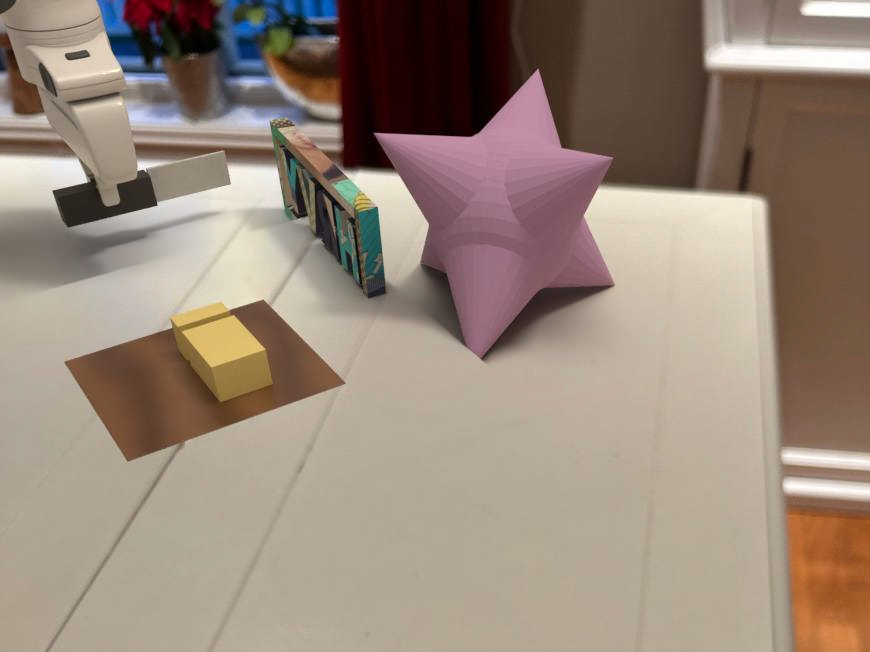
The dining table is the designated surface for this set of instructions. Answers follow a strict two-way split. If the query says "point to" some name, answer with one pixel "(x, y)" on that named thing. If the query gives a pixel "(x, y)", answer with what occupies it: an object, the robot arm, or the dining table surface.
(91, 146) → the robot arm
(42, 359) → the dining table surface
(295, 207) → the decorative block
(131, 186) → the knife
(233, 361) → the butter block
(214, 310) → the butter slice
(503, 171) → the decorative object
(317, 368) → the cutting board
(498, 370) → the dining table surface
